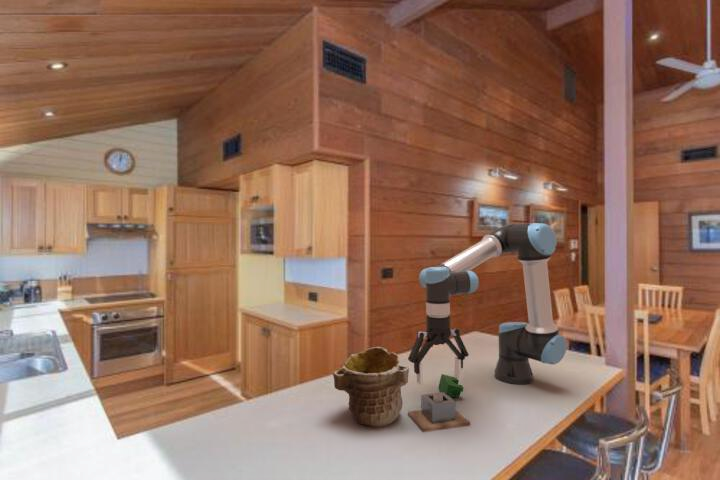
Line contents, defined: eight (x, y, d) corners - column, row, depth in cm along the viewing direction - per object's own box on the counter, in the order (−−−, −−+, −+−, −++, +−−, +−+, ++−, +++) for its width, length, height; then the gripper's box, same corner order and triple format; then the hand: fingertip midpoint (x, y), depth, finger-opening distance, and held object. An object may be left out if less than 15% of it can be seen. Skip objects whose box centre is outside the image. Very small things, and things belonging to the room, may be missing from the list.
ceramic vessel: (365, 422, 106) (339, 338, 120) (337, 446, 123) (317, 369, 137) (431, 404, 117) (401, 328, 131) (397, 428, 134) (373, 358, 148)
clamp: (457, 410, 143) (465, 392, 140) (441, 406, 143) (449, 388, 139) (452, 386, 154) (460, 369, 151) (437, 383, 154) (445, 365, 150)
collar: (443, 410, 131) (443, 392, 131) (455, 420, 124) (455, 401, 124) (421, 412, 129) (421, 394, 129) (432, 423, 121) (432, 404, 121)
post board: (451, 409, 134) (451, 385, 134) (470, 425, 123) (470, 399, 123) (407, 414, 130) (407, 390, 130) (423, 431, 118) (423, 405, 118)
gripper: (466, 310, 133) (467, 372, 133) (397, 315, 126) (398, 381, 127) (478, 314, 126) (479, 380, 126) (406, 320, 119) (407, 390, 119)
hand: (439, 381), depth 126 cm, fingers open, 13 cm apart
